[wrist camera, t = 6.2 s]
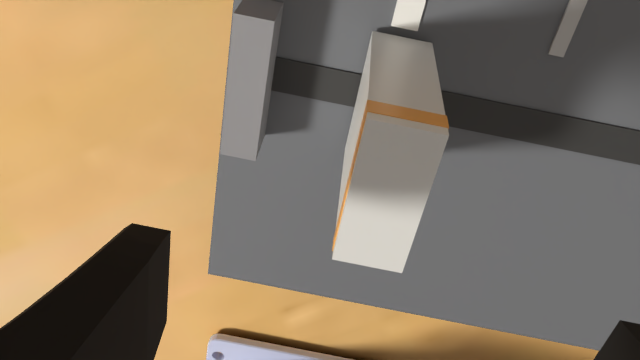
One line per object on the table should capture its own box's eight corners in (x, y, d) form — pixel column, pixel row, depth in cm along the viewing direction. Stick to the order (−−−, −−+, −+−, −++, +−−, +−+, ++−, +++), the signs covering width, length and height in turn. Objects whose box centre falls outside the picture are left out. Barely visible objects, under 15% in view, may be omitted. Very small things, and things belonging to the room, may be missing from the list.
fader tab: (399, 158, 17) (402, 274, 13) (344, 148, 17) (330, 259, 13) (433, 42, 15) (450, 134, 11) (371, 29, 15) (365, 117, 11)
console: (629, 318, 23) (665, 396, 20) (221, 238, 23) (196, 304, 20) (941, -146, 14) (1088, -130, 11) (276, -288, 14) (247, -310, 11)
